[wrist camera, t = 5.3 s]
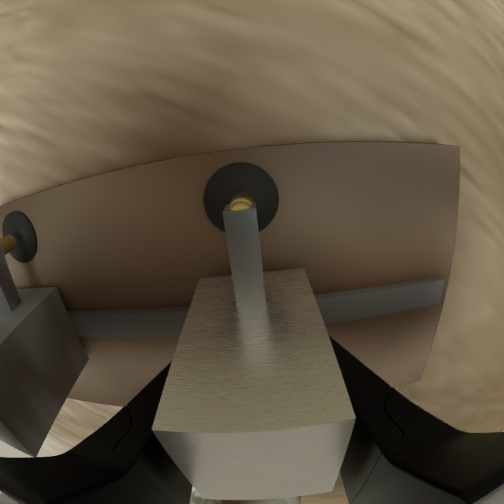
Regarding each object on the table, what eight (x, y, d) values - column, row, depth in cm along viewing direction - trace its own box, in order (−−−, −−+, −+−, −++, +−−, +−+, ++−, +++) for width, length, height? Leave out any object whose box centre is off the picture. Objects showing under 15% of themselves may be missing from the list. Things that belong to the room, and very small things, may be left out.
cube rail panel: (409, 363, 14) (465, 470, 7) (76, 382, 15) (28, 474, 7) (438, 144, 10) (598, 181, 2) (3, 204, 10) (-110, 266, 3)
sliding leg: (305, 355, 11) (332, 491, 5) (219, 363, 11) (204, 498, 6) (298, 185, 9) (382, 272, 3) (185, 198, 9) (84, 299, 3)
